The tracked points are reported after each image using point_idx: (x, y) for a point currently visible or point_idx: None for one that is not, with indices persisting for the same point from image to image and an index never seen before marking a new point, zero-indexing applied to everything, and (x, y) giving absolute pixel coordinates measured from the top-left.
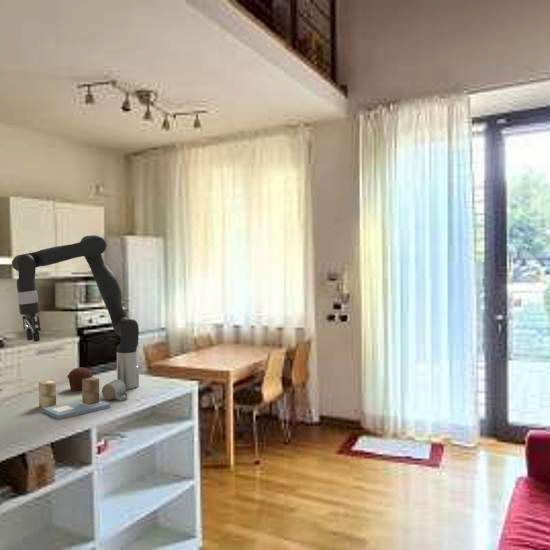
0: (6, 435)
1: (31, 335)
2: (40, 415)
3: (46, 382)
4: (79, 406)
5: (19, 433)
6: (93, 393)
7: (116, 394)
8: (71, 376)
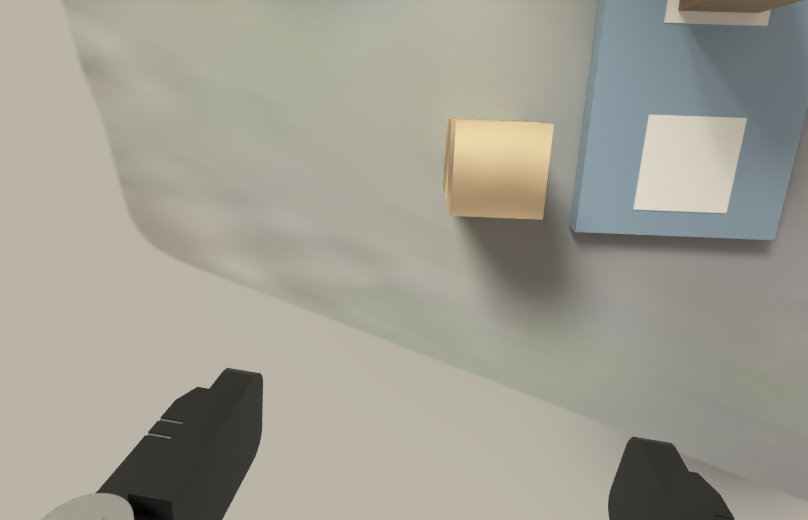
0: (759, 476)
1: (222, 443)
2: (616, 264)
3: (495, 175)
4: (727, 67)
5: (784, 436)
6: None
7: None
8: None
